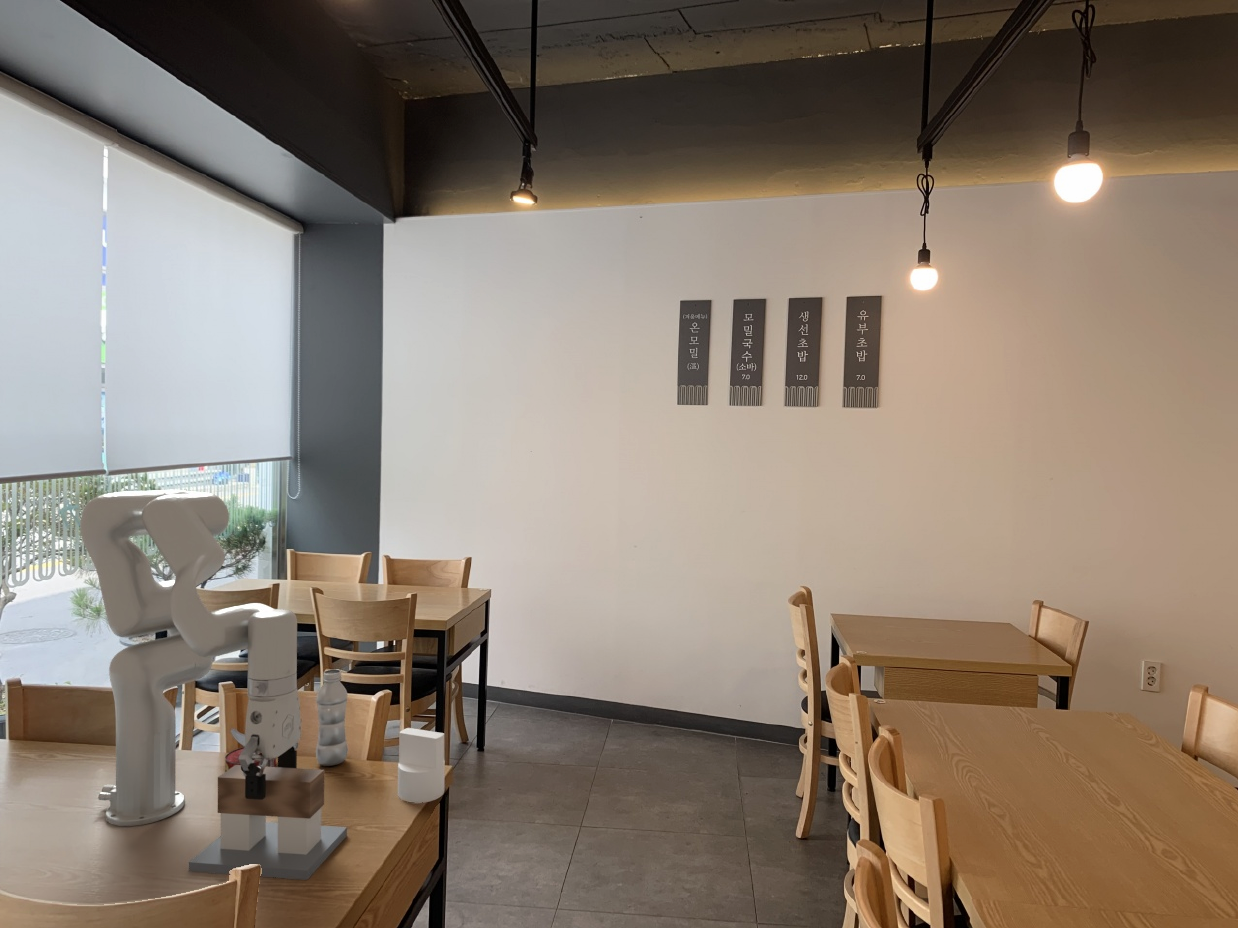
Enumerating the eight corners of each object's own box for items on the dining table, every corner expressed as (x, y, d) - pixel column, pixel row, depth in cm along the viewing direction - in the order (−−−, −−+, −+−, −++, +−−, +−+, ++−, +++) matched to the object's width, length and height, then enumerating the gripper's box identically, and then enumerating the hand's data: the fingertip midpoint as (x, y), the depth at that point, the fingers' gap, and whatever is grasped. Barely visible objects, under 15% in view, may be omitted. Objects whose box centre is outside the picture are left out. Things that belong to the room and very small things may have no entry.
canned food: (240, 781, 167) (249, 733, 172) (282, 780, 166) (291, 732, 170) (206, 777, 157) (217, 726, 162) (251, 775, 156) (261, 724, 160)
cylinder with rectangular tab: (452, 786, 156) (453, 728, 155) (428, 806, 147) (428, 744, 147) (414, 779, 159) (415, 722, 158) (388, 798, 150) (388, 737, 150)
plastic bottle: (352, 757, 169) (353, 667, 169) (338, 770, 162) (339, 676, 162) (324, 756, 170) (325, 666, 169) (309, 768, 163) (310, 675, 163)
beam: (217, 812, 128) (217, 777, 127) (235, 799, 133) (235, 764, 132) (309, 818, 126) (310, 782, 126) (324, 804, 131) (324, 769, 131)
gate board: (188, 871, 124) (188, 825, 123) (239, 828, 137) (239, 786, 137) (307, 879, 122) (307, 833, 121) (346, 835, 136) (347, 793, 135)
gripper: (265, 702, 120) (264, 810, 120) (318, 670, 137) (318, 765, 138) (219, 700, 121) (219, 807, 121) (278, 668, 138) (278, 763, 138)
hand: (271, 785), depth 129 cm, fingers open, 9 cm apart
